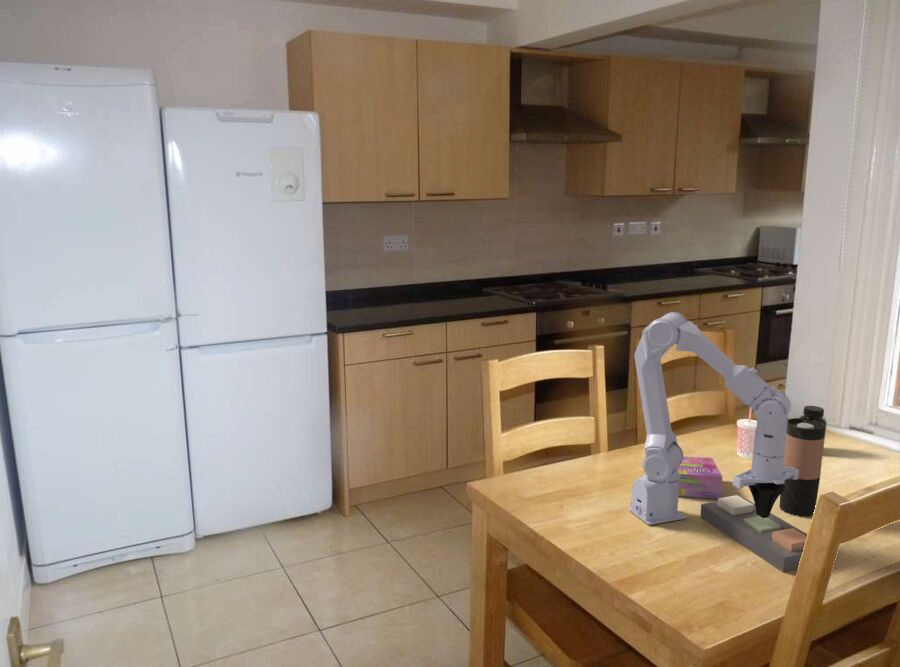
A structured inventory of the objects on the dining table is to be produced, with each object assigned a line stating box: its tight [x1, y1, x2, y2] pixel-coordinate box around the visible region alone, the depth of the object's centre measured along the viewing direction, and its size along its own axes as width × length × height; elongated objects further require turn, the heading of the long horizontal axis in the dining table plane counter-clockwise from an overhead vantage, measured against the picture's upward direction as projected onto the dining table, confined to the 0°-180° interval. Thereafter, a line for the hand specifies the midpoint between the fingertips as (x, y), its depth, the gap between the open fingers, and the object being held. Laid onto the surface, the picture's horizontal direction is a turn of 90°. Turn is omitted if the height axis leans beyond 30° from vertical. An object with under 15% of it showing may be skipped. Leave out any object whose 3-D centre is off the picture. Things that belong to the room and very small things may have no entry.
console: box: [700, 496, 807, 573], centre depth 149 cm, size 11×24×3 cm, turn 19°
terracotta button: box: [772, 528, 807, 552], centre depth 141 cm, size 5×5×2 cm
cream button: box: [717, 494, 753, 516], centre depth 156 cm, size 5×5×2 cm
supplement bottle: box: [799, 405, 828, 449], centre depth 196 cm, size 7×7×12 cm
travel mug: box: [779, 417, 826, 517], centre depth 160 cm, size 8×8×20 cm
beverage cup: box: [736, 407, 757, 459], centre depth 192 cm, size 6×6×14 cm
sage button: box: [743, 516, 781, 533], centre depth 149 cm, size 5×5×2 cm
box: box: [677, 455, 723, 500], centre depth 173 cm, size 10×6×12 cm
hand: (762, 515), depth 148 cm, fingers closed
